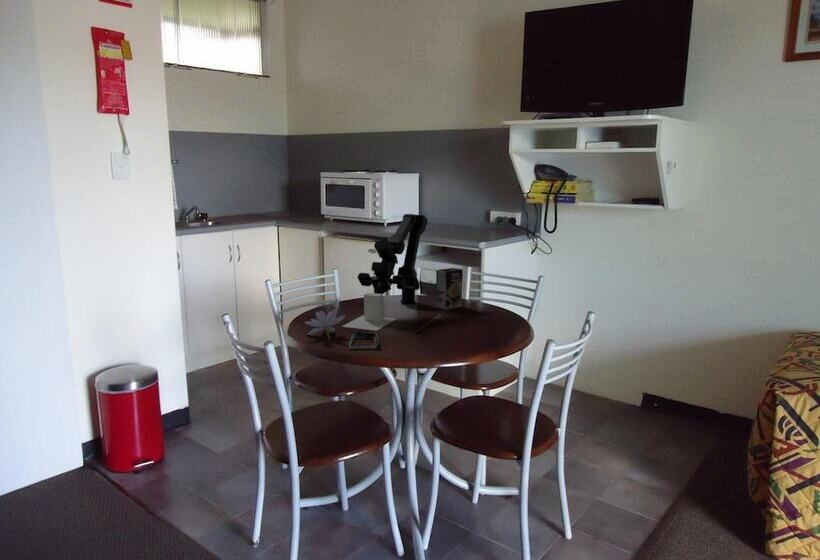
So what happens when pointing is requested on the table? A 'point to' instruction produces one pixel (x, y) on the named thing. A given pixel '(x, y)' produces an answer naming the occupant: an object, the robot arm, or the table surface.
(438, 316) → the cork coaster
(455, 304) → the coffee box
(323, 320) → the water lily
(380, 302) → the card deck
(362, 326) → the mat
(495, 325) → the table surface
